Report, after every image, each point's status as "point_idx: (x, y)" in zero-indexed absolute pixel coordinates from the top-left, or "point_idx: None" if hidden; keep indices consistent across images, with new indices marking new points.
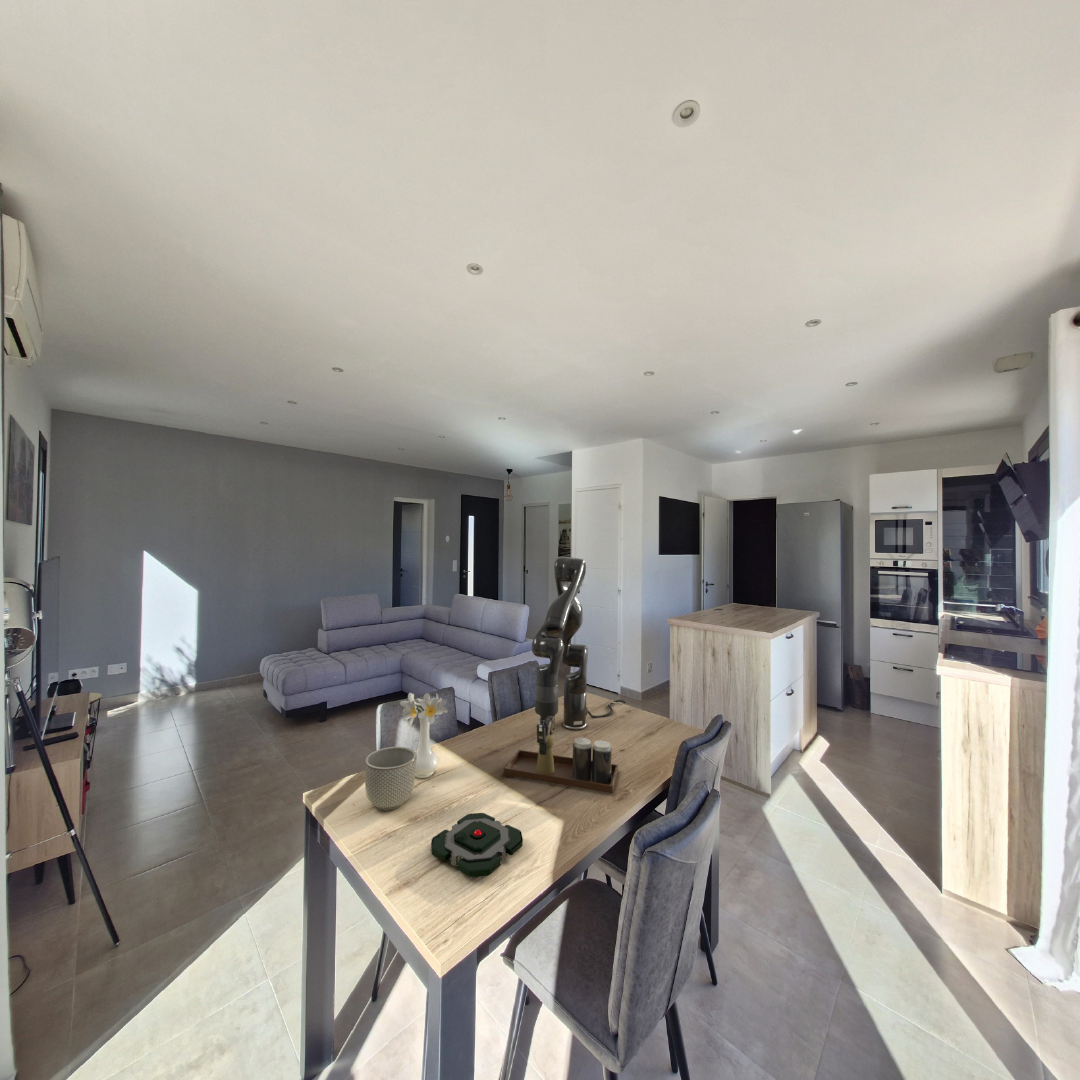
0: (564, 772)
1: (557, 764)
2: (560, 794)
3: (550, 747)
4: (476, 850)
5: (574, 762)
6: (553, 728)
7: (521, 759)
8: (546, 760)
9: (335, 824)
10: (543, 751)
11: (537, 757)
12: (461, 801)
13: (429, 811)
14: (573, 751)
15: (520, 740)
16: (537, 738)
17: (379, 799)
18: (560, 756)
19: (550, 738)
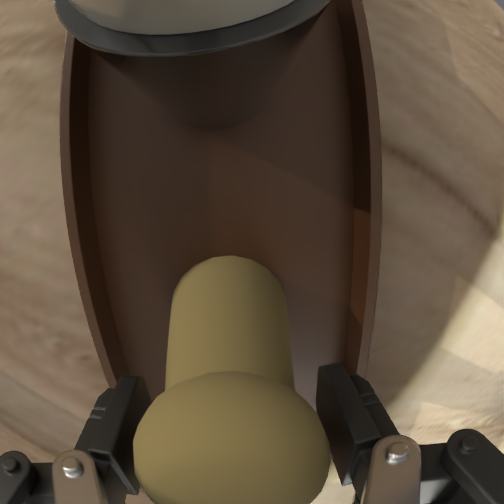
0: (210, 187)
1: (128, 265)
2: (428, 154)
3: (264, 377)
4: None
5: (283, 75)
6: (20, 477)
7: None
8: (286, 332)
9: None
10: (372, 393)
11: None
12: (472, 421)
13: (492, 432)
14: (280, 54)
15: (42, 447)
16: (469, 501)
17: None
18: (81, 268)
19: (268, 463)
